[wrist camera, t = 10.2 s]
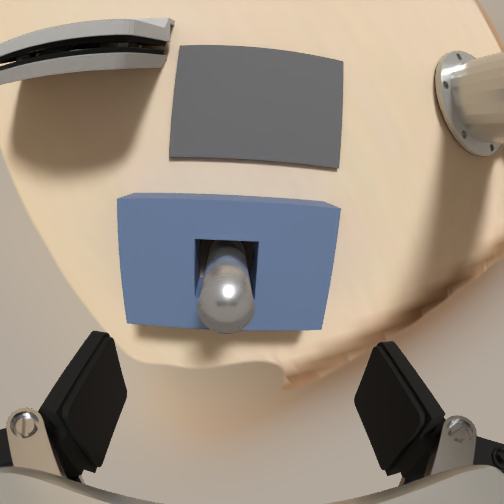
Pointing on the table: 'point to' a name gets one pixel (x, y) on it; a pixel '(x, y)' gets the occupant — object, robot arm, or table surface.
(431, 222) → the table surface
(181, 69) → the mat
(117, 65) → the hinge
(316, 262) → the hole block
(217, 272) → the peg
